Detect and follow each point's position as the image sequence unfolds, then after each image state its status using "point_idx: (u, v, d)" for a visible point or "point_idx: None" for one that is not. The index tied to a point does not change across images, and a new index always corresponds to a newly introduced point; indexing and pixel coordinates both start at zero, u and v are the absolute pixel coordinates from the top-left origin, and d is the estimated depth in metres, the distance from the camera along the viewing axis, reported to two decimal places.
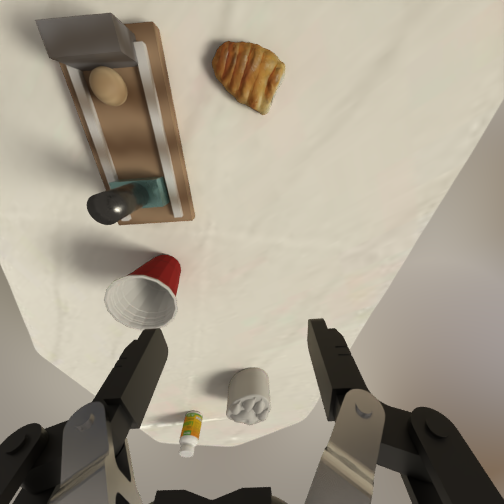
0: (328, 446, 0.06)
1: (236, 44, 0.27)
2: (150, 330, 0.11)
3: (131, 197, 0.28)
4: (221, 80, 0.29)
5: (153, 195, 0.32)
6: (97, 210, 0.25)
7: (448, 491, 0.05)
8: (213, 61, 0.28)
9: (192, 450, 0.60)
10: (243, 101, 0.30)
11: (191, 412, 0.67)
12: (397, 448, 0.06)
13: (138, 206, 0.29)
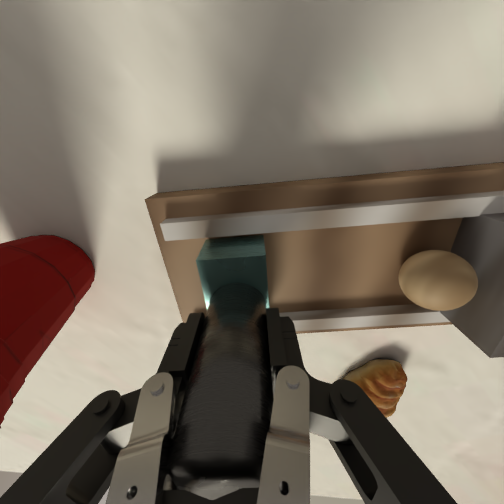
0: (270, 427, 0.07)
1: (403, 391, 0.23)
2: (196, 314, 0.12)
3: None
4: (372, 377, 0.23)
5: None
6: (218, 471, 0.06)
7: (366, 448, 0.06)
8: (393, 371, 0.22)
9: None
10: None
11: None
12: (316, 413, 0.07)
13: None
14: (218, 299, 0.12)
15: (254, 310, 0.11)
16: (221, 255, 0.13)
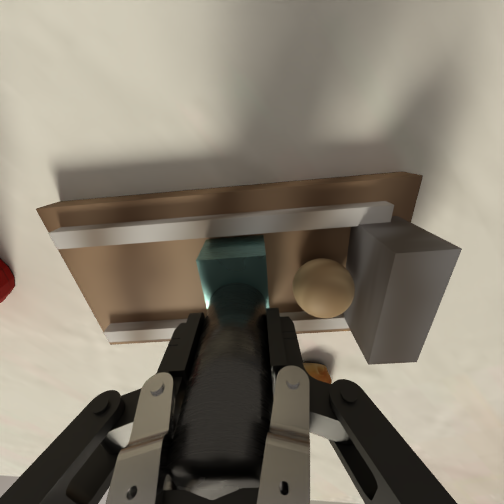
0: (270, 428, 0.07)
1: None
2: (196, 314, 0.12)
3: None
4: None
5: None
6: (218, 471, 0.06)
7: (366, 448, 0.06)
8: (314, 374, 0.23)
9: None
10: None
11: None
12: (316, 413, 0.07)
13: None
14: (218, 299, 0.12)
15: (254, 311, 0.11)
16: (221, 255, 0.13)
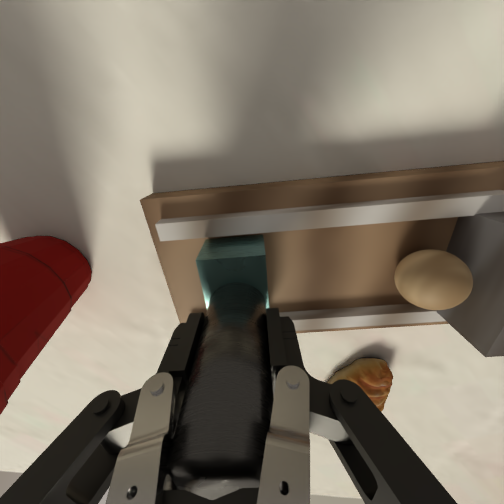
0: (270, 427, 0.07)
1: (389, 389, 0.23)
2: (196, 314, 0.12)
3: None
4: (357, 377, 0.23)
5: None
6: (218, 471, 0.06)
7: (366, 448, 0.06)
8: (377, 369, 0.22)
9: None
10: None
11: None
12: (316, 413, 0.07)
13: None
14: (218, 299, 0.12)
15: (254, 310, 0.11)
16: (220, 255, 0.13)
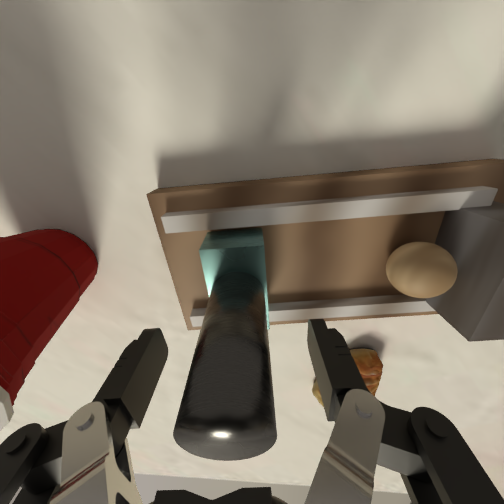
0: (328, 446, 0.06)
1: (380, 378, 0.24)
2: (150, 330, 0.11)
3: None
4: None
5: None
6: (222, 426, 0.07)
7: (448, 491, 0.05)
8: (367, 359, 0.23)
9: None
10: None
11: None
12: (397, 448, 0.06)
13: None
14: (220, 286, 0.13)
15: (253, 295, 0.12)
16: (222, 245, 0.13)
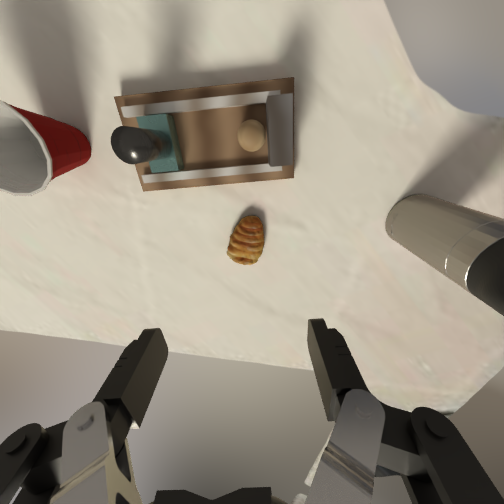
0: (328, 446, 0.06)
1: (260, 232, 0.39)
2: (150, 330, 0.11)
3: (153, 160, 0.27)
4: (239, 224, 0.39)
5: (161, 164, 0.31)
6: (126, 137, 0.22)
7: (448, 491, 0.05)
8: (249, 217, 0.38)
9: None
10: (230, 241, 0.40)
11: None
12: (397, 448, 0.06)
13: None
14: None
15: (157, 132, 0.27)
16: (147, 116, 0.29)
